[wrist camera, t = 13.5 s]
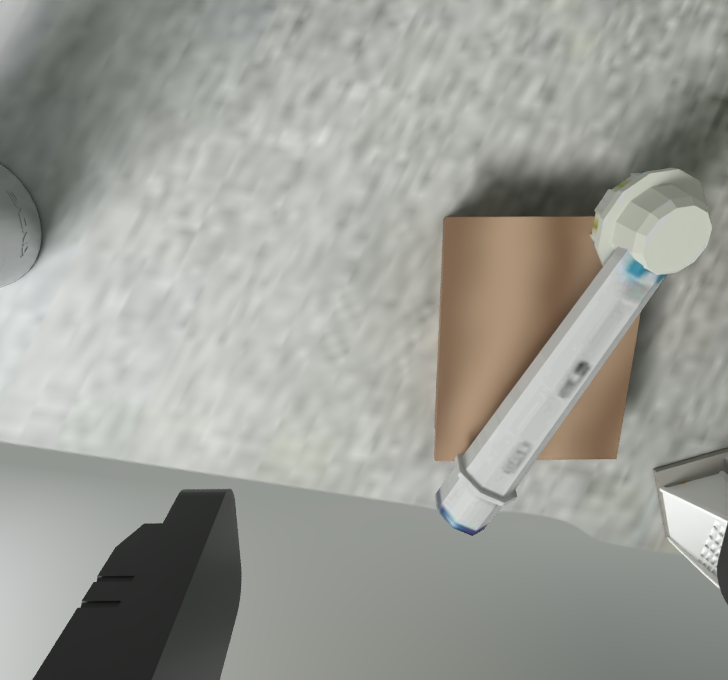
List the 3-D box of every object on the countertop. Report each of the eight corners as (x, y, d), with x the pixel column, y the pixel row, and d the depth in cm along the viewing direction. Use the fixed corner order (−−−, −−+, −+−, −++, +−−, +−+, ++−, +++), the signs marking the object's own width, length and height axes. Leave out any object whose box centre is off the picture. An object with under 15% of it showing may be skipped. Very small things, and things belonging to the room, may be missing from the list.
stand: (427, 433, 42) (435, 460, 38) (436, 211, 36) (445, 217, 33) (592, 432, 42) (616, 459, 38) (625, 210, 37) (656, 216, 33)
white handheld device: (427, 521, 35) (687, 162, 25) (422, 457, 41) (629, 147, 31) (497, 549, 36) (776, 212, 25) (481, 482, 42) (702, 188, 31)
